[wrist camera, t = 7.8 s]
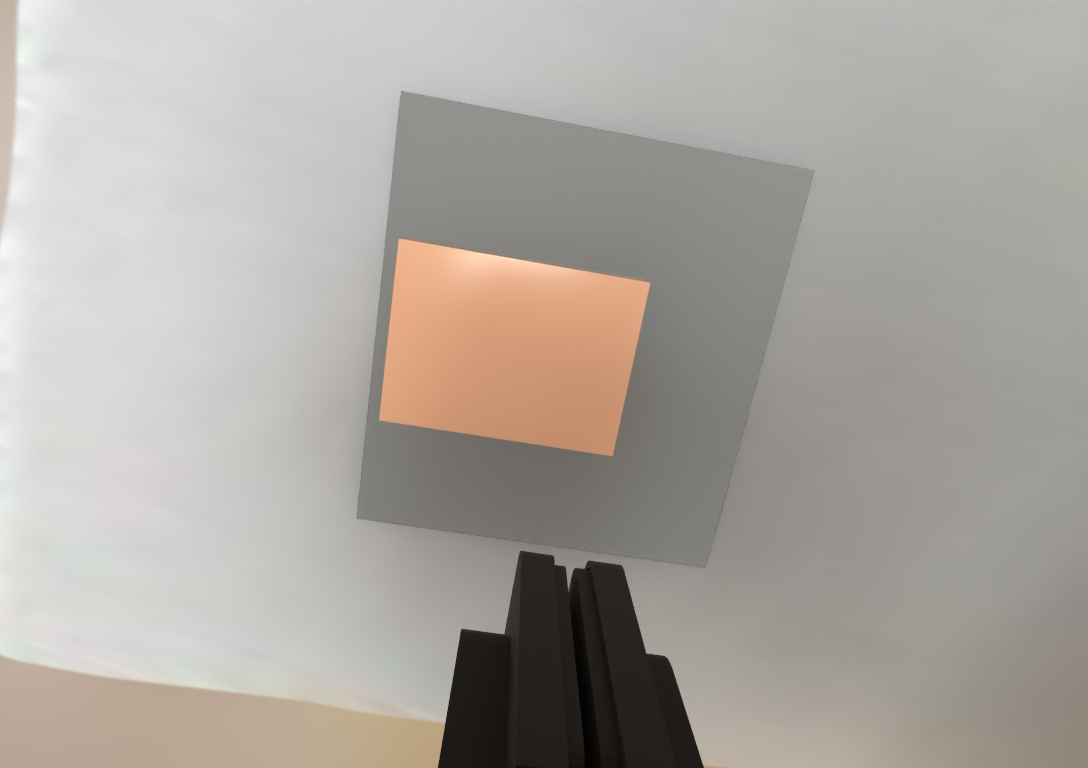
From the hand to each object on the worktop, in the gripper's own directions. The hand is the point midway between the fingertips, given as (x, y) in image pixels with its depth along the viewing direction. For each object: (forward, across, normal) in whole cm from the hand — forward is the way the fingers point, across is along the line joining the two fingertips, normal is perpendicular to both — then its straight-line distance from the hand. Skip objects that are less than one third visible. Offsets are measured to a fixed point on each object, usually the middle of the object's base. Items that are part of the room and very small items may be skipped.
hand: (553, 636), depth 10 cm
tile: (+21, -5, 0) cm, 22 cm away
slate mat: (+23, -2, 0) cm, 23 cm away
